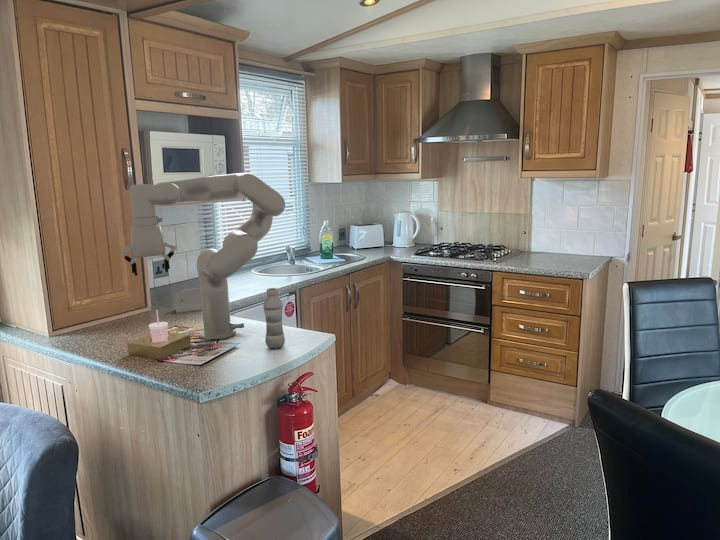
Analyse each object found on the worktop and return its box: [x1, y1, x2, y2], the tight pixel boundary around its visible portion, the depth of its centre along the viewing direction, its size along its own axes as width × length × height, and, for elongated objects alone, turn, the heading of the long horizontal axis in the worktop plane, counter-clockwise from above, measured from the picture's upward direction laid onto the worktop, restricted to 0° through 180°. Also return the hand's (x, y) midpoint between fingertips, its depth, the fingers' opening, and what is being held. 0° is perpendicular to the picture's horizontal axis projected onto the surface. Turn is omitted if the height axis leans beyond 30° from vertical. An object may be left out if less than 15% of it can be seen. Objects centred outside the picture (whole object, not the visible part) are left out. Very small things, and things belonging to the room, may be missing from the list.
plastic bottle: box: [263, 287, 286, 349], centre depth 176 cm, size 6×7×20 cm
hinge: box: [174, 287, 202, 314], centre depth 231 cm, size 17×5×10 cm, turn 111°
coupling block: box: [126, 331, 192, 360], centre depth 178 cm, size 14×14×4 cm
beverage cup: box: [148, 309, 169, 343], centre depth 177 cm, size 6×6×14 cm
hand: (151, 273), depth 177 cm, fingers open, 9 cm apart
